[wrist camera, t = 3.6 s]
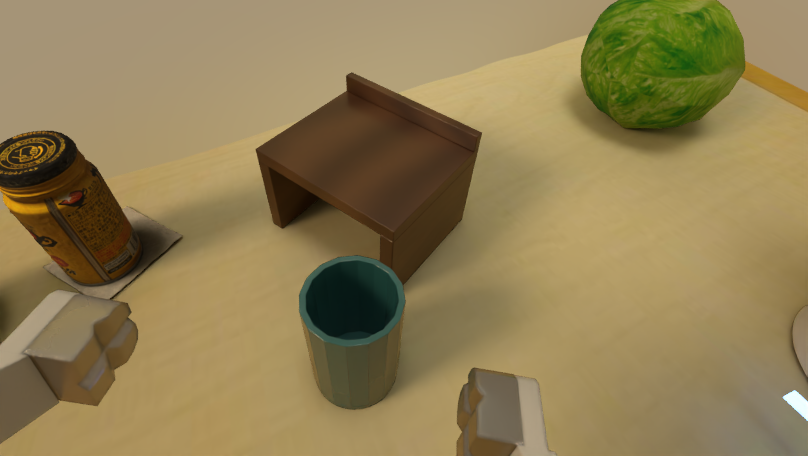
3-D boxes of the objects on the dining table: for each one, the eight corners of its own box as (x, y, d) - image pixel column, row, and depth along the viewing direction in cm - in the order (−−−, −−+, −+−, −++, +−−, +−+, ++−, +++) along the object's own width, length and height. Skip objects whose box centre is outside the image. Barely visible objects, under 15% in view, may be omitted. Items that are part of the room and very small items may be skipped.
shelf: (462, 218, 45) (482, 132, 37) (389, 300, 38) (394, 216, 30) (354, 159, 50) (351, 71, 42) (273, 222, 43) (251, 132, 35)
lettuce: (713, 133, 61) (814, 27, 49) (629, 174, 51) (730, 53, 40) (620, 63, 68) (690, -44, 56) (531, 88, 58) (592, -36, 47)
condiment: (43, 268, 38) (-58, 160, 29) (127, 207, 43) (64, 99, 34) (103, 306, 36) (14, 203, 27) (184, 237, 41) (131, 131, 32)
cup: (413, 360, 35) (425, 290, 27) (361, 427, 31) (359, 367, 24) (351, 317, 37) (346, 240, 29) (297, 375, 34) (276, 305, 26)
